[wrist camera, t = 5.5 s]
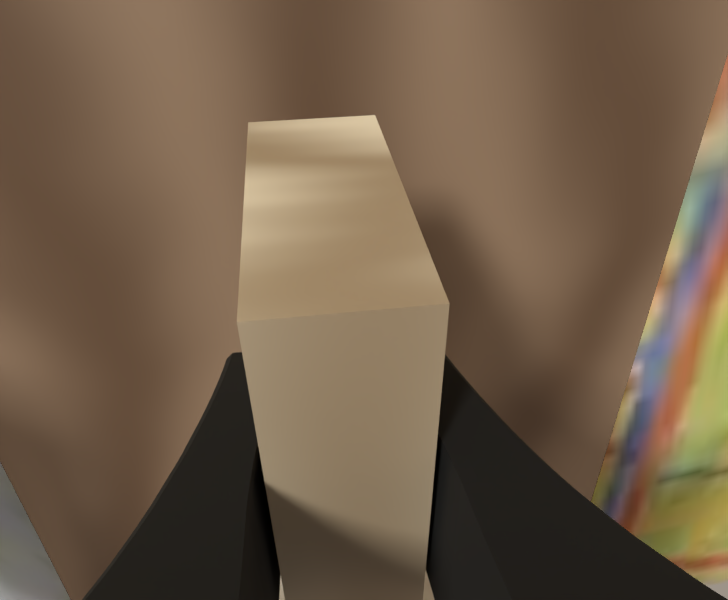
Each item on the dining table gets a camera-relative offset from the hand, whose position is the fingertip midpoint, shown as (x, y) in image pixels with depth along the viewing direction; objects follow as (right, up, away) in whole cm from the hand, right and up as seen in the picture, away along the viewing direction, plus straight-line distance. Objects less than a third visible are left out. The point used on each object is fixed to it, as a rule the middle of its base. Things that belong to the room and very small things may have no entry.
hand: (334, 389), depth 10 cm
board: (-1, 0, +9) cm, 9 cm away
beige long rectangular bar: (0, 0, +3) cm, 3 cm away
